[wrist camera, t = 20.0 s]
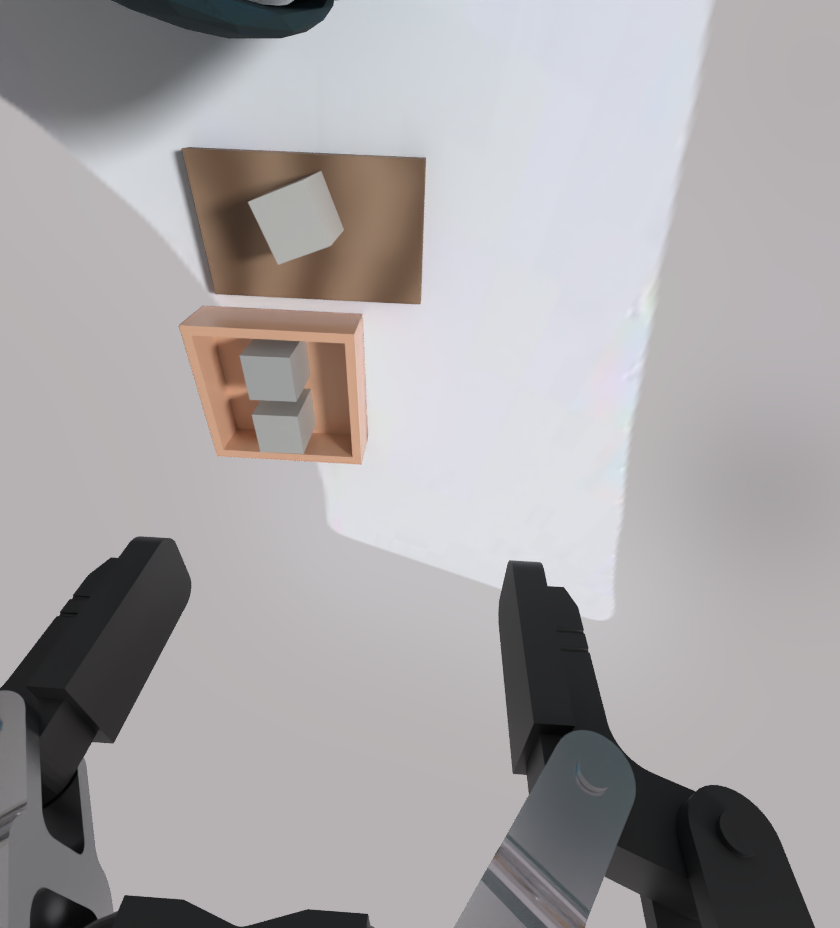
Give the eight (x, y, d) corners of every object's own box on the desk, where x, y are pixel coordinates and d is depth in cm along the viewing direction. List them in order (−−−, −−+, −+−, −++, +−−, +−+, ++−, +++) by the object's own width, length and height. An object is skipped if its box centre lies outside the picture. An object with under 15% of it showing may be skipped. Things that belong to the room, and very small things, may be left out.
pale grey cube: (297, 247, 36) (277, 264, 32) (271, 190, 34) (247, 201, 30) (344, 230, 35) (330, 246, 31) (321, 170, 33) (303, 179, 29)
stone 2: (259, 331, 41) (239, 355, 37) (305, 333, 41) (289, 357, 37) (267, 372, 43) (249, 399, 39) (310, 374, 43) (296, 401, 39)
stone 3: (269, 386, 44) (251, 414, 40) (311, 388, 44) (297, 416, 40) (276, 422, 46) (260, 451, 43) (316, 424, 46) (303, 453, 42)
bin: (234, 430, 48) (217, 456, 45) (202, 305, 40) (178, 325, 37) (367, 437, 48) (361, 464, 45) (362, 314, 40) (354, 334, 37)
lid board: (221, 289, 39) (215, 294, 38) (189, 147, 33) (181, 148, 32) (420, 299, 39) (420, 304, 38) (425, 157, 33) (425, 159, 32)
